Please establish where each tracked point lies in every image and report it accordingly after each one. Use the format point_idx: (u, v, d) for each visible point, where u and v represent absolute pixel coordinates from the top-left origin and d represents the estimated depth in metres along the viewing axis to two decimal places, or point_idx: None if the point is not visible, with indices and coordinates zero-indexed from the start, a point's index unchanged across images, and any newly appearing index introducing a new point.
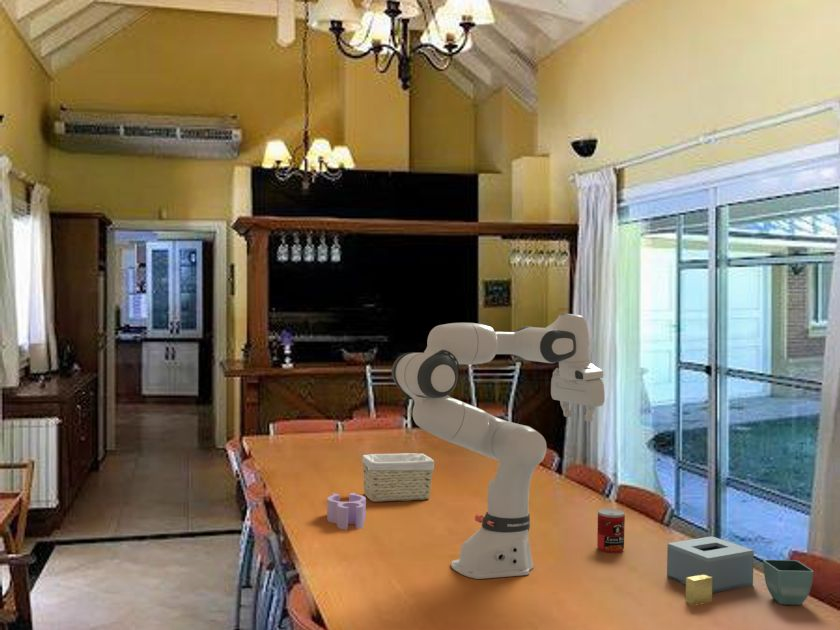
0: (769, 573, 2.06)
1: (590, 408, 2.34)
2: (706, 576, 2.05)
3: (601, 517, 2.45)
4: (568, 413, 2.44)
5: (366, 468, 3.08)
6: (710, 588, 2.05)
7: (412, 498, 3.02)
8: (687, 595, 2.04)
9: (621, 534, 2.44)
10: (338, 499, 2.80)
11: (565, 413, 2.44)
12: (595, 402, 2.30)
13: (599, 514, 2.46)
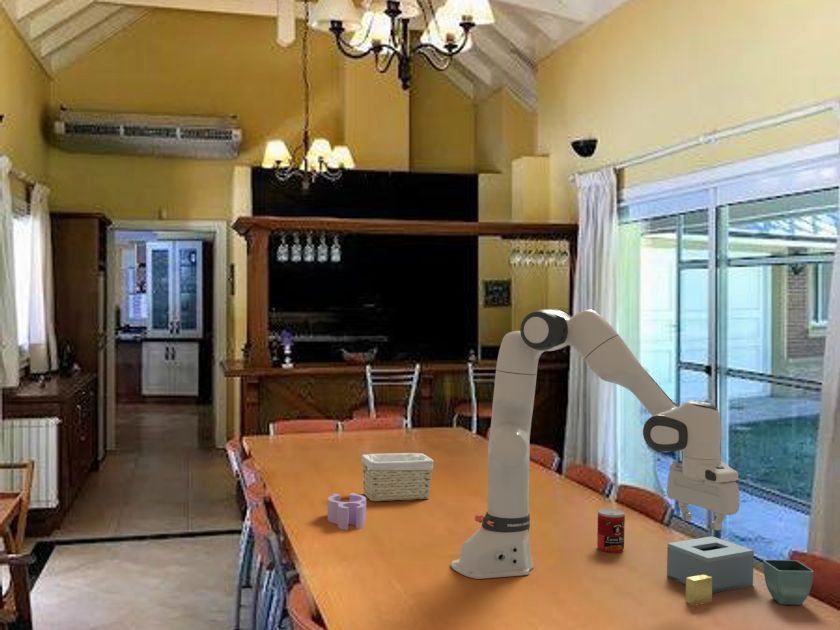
0: (769, 573, 2.06)
1: (720, 515, 2.00)
2: (706, 576, 2.05)
3: (601, 517, 2.45)
4: (688, 516, 2.09)
5: (365, 468, 3.08)
6: (710, 588, 2.05)
7: (411, 498, 3.02)
8: (687, 595, 2.04)
9: (621, 534, 2.44)
10: (338, 499, 2.80)
11: (684, 516, 2.09)
12: (730, 510, 1.96)
13: (599, 514, 2.46)
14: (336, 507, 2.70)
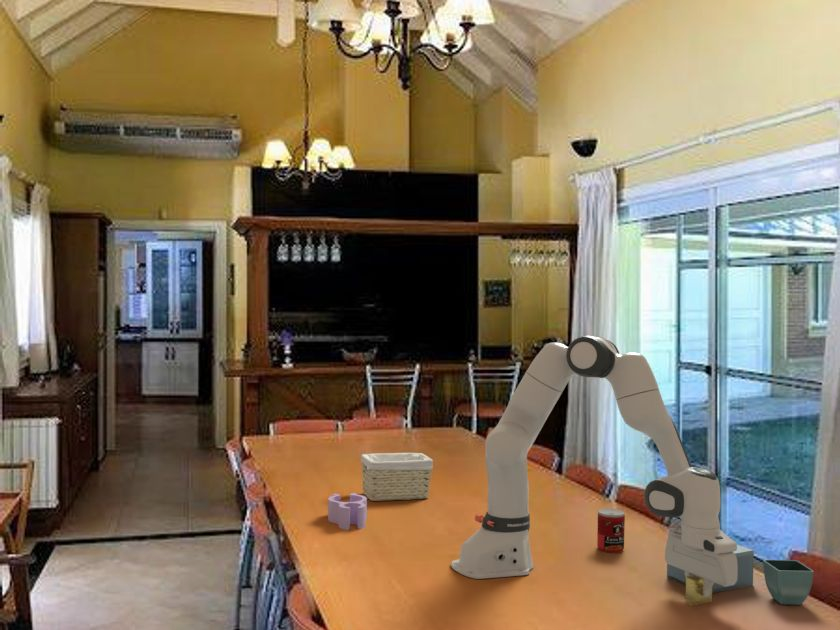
0: (769, 573, 2.06)
1: (709, 582, 2.01)
2: None
3: (601, 517, 2.45)
4: None
5: (365, 467, 3.09)
6: None
7: (411, 497, 3.03)
8: (687, 594, 2.04)
9: (621, 534, 2.44)
10: (339, 499, 2.79)
11: None
12: (727, 582, 1.95)
13: (599, 514, 2.46)
14: (337, 507, 2.70)
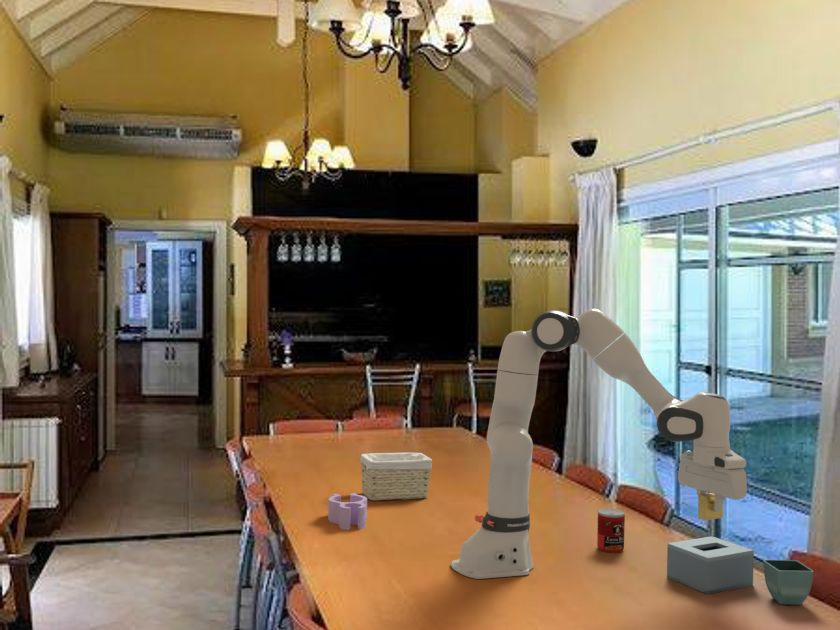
0: (769, 573, 2.06)
1: (720, 498, 2.13)
2: None
3: (601, 517, 2.45)
4: None
5: (364, 467, 3.09)
6: (721, 504, 2.17)
7: (410, 497, 3.04)
8: (699, 510, 2.16)
9: (621, 534, 2.44)
10: (339, 499, 2.79)
11: None
12: (737, 495, 2.07)
13: (599, 514, 2.46)
14: (337, 507, 2.70)
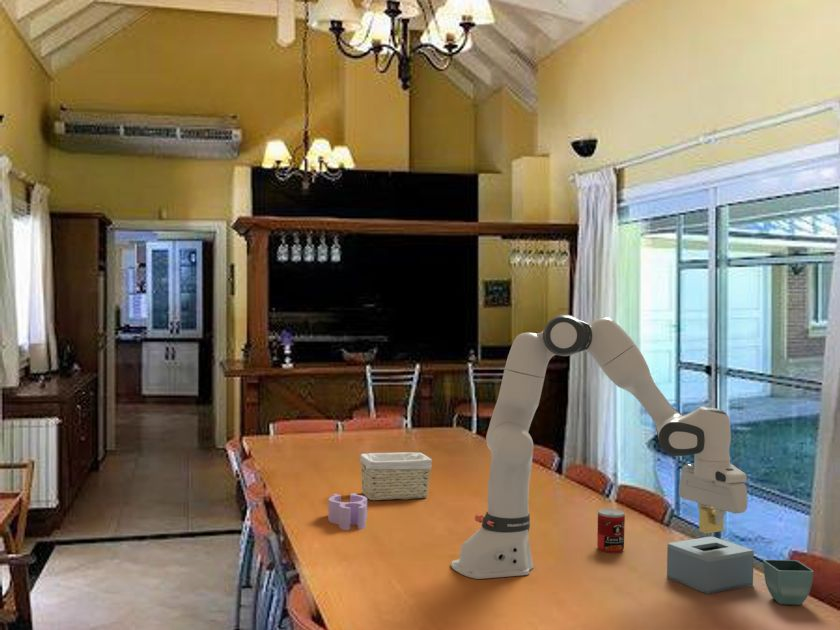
0: (769, 573, 2.06)
1: (721, 511, 2.16)
2: None
3: (601, 517, 2.45)
4: None
5: (364, 467, 3.09)
6: None
7: (410, 497, 3.04)
8: (700, 524, 2.19)
9: (621, 534, 2.44)
10: (339, 500, 2.79)
11: None
12: (738, 509, 2.10)
13: (599, 514, 2.46)
14: (337, 507, 2.70)
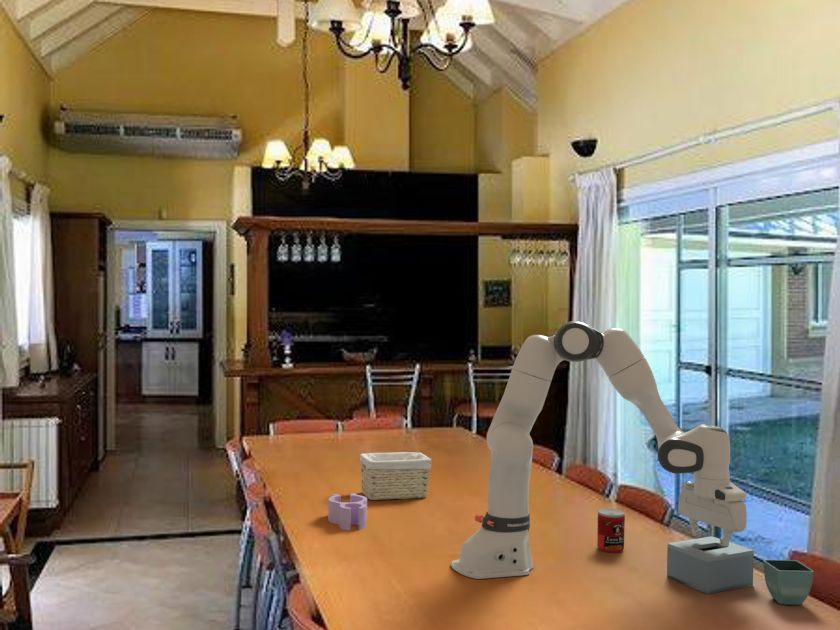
0: (769, 573, 2.06)
1: (728, 532, 2.14)
2: None
3: (601, 517, 2.45)
4: (698, 532, 2.23)
5: (364, 467, 3.10)
6: None
7: (409, 496, 3.04)
8: None
9: (621, 534, 2.44)
10: (339, 500, 2.79)
11: (694, 532, 2.23)
12: (737, 527, 2.10)
13: (599, 514, 2.46)
14: (337, 508, 2.69)
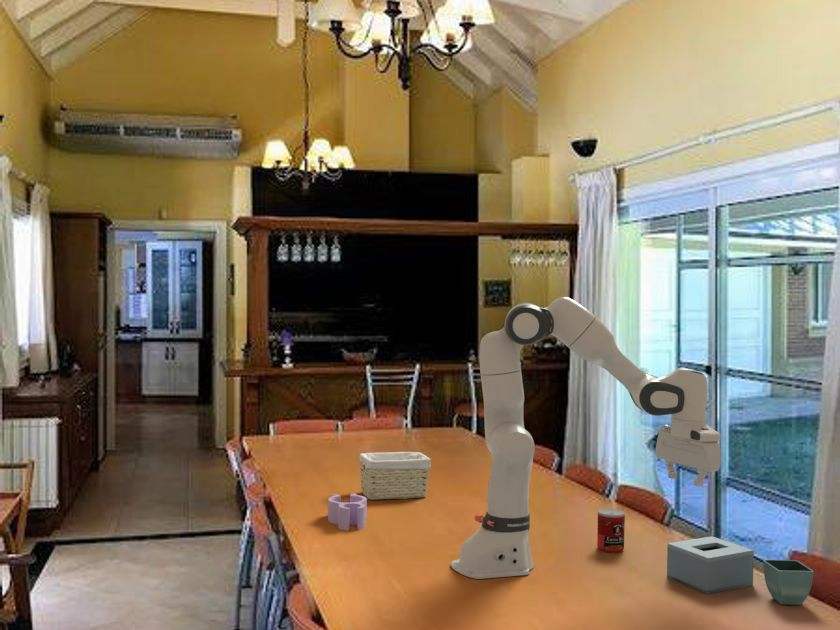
0: (769, 573, 2.06)
1: (702, 472, 2.18)
2: None
3: (601, 517, 2.45)
4: (673, 474, 2.27)
5: (363, 466, 3.10)
6: None
7: (409, 496, 3.05)
8: None
9: (621, 534, 2.44)
10: (339, 500, 2.79)
11: (670, 474, 2.27)
12: (711, 467, 2.14)
13: (599, 514, 2.46)
14: (337, 508, 2.69)
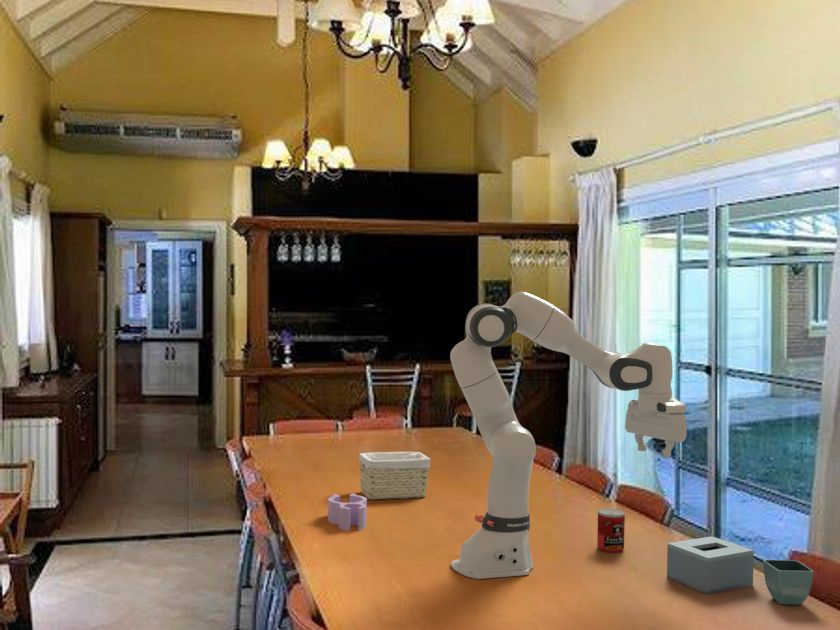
0: (769, 573, 2.06)
1: (670, 443, 2.24)
2: None
3: (601, 517, 2.45)
4: (643, 447, 2.33)
5: (363, 466, 3.11)
6: None
7: (408, 496, 3.05)
8: None
9: (621, 534, 2.44)
10: (338, 500, 2.79)
11: (639, 447, 2.34)
12: (677, 437, 2.20)
13: (599, 514, 2.46)
14: (337, 508, 2.69)
